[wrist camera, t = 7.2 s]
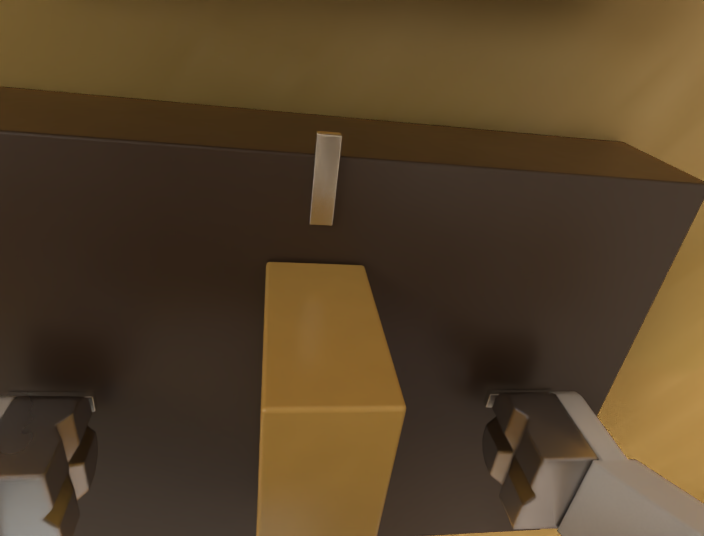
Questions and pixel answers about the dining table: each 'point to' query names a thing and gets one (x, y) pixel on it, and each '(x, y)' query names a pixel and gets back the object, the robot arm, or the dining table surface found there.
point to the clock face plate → (310, 247)
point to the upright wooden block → (324, 404)
